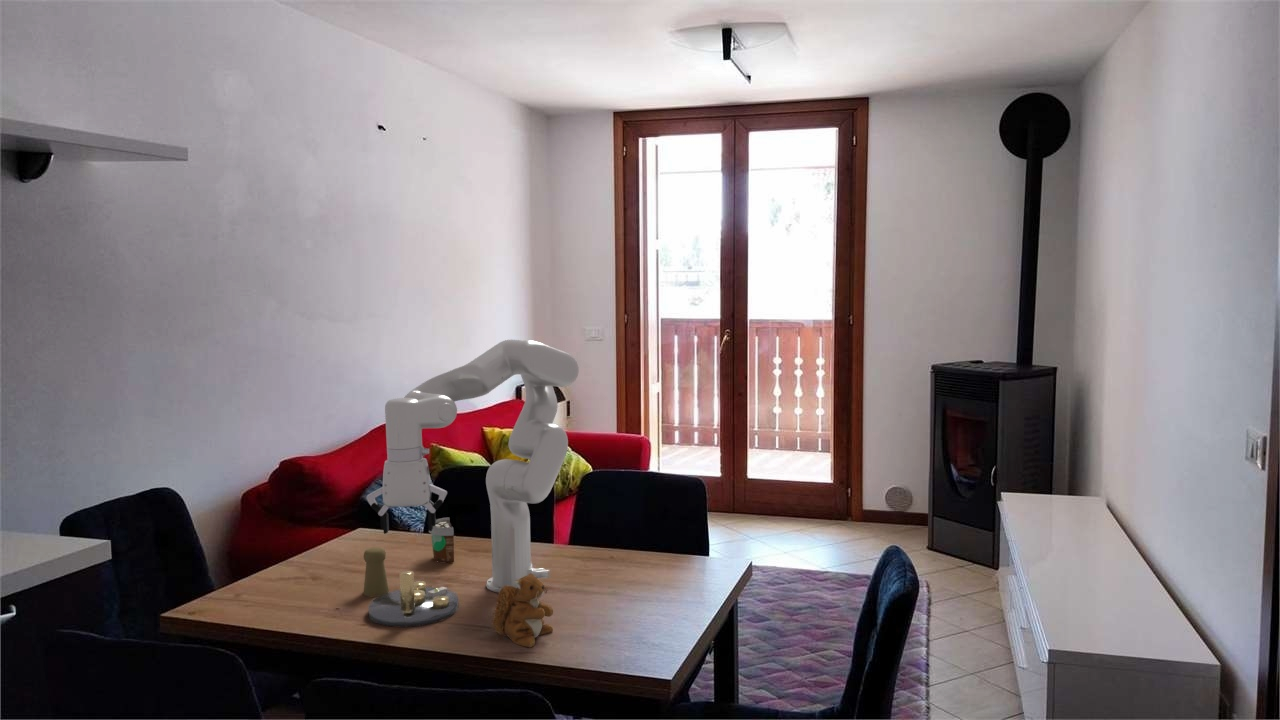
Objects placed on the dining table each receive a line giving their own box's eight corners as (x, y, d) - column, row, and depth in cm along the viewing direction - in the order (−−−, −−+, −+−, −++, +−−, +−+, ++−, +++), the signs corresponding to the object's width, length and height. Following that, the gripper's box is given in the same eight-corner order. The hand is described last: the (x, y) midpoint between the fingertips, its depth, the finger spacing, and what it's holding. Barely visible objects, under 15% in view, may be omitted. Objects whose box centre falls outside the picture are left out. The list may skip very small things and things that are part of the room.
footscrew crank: (404, 598, 206) (403, 559, 205) (426, 597, 206) (425, 558, 206) (395, 617, 194) (393, 575, 193) (418, 616, 195) (417, 574, 194)
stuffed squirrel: (533, 649, 181) (532, 587, 180) (479, 637, 188) (477, 576, 187) (560, 632, 190) (559, 572, 189) (508, 621, 197) (506, 563, 196)
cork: (381, 597, 213) (379, 552, 212) (358, 595, 214) (356, 551, 213) (393, 588, 219) (391, 545, 218) (370, 587, 220) (369, 544, 219)
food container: (428, 553, 248) (426, 518, 247) (450, 551, 250) (449, 516, 249) (431, 566, 236) (430, 530, 235) (454, 564, 238) (453, 527, 237)
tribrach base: (461, 593, 215) (461, 578, 215) (454, 624, 195) (453, 607, 195) (377, 597, 213) (376, 582, 212) (361, 629, 193) (360, 612, 193)
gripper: (446, 449, 199) (449, 523, 200) (367, 453, 197) (371, 528, 198) (443, 456, 191) (447, 533, 193) (361, 459, 189) (365, 537, 191)
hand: (408, 530), depth 196 cm, fingers open, 9 cm apart
